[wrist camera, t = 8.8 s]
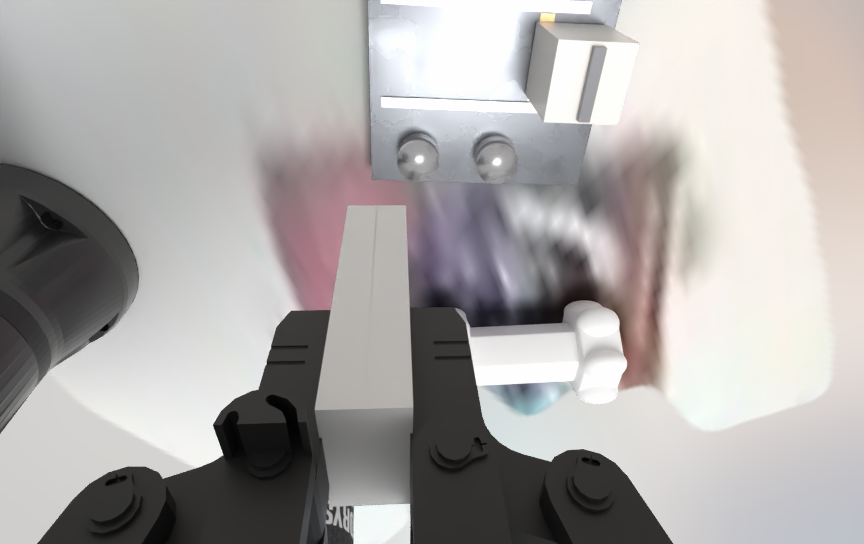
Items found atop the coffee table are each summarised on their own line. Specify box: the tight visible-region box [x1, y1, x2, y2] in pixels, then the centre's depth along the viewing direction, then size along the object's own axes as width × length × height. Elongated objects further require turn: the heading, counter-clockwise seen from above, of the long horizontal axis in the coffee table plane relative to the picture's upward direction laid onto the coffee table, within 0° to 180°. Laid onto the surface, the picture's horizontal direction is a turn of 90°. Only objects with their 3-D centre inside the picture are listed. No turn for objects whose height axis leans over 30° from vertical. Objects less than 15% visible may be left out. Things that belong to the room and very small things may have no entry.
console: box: [368, 0, 622, 186], centre depth 29 cm, size 14×16×4 cm
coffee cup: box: [326, 497, 354, 544], centre depth 48 cm, size 10×10×15 cm
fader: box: [525, 22, 640, 125], centre depth 27 cm, size 4×4×5 cm
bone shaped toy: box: [455, 300, 627, 404], centre depth 41 cm, size 15×9×8 cm, turn 92°
